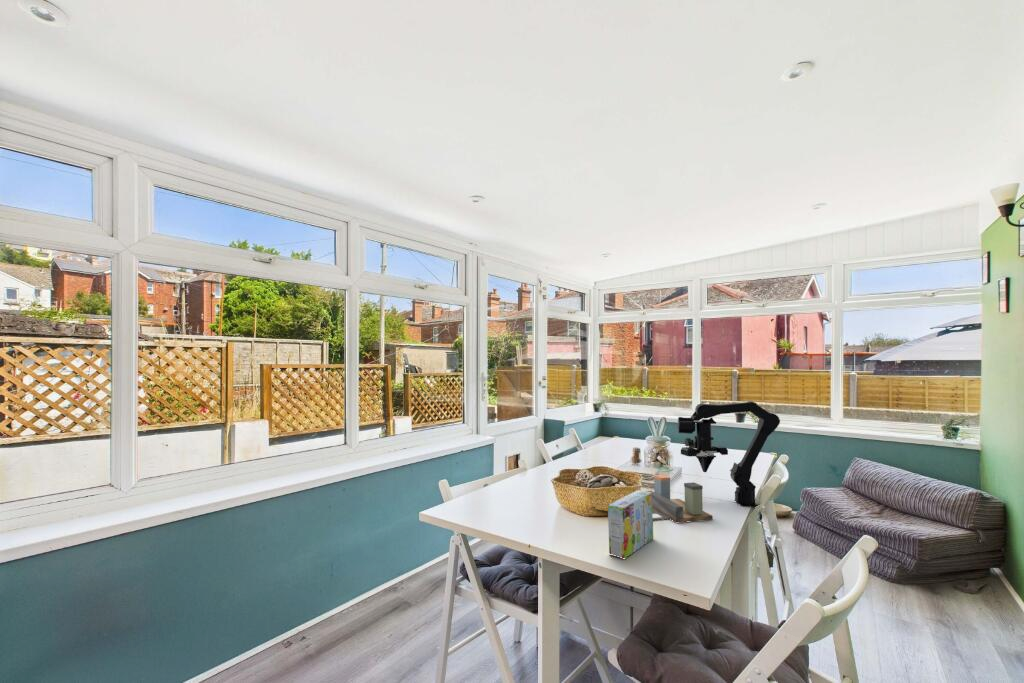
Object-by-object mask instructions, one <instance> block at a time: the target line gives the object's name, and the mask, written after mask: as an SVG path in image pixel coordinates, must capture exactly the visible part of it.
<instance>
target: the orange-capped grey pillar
mask: <svg viewBox="0 0 1024 683" xmlns="http://www.w3.org/2000/svg"><path fill="white" fill-rule="evenodd" d="M653 480H654V481H653V482H654V483H653V488H654V491H653V492H655V493H657V494H659V495H661V496H663V497H665V498H667V499H669V500H670V499H671V477H670V476H667V475H665V474H655V475H653Z"/></svg>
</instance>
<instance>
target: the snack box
mask: <svg viewBox="0 0 1024 683" xmlns="http://www.w3.org/2000/svg"><path fill="white" fill-rule="evenodd" d="M647 491H648V490H639V489H637V490H636V491H633V492H631V493H630V494H627V495H626V496H623V497H621V498H619V499H617V500H616V501H615V500H614V502H613V503H611V504H609V505H608V511H607V524H608V553H610V554H613V555H616V556H619V557H622V558H626V557H627V556H629V555H630V554H631V555H633V554H634V553H635V552H637V551H638V550H640V549H641V548H642V547H644V546H645V545H646V544H648V543H649V542H650V541H652V540H653V539H654V523H653V522H654V521H653V516H652V493H651V492H647ZM647 542H648V543H647ZM644 544H645V545H644ZM643 545H644V546H643ZM640 547H641V548H640ZM637 549H638V550H637ZM636 550H637V551H636ZM633 552H634V553H633ZM632 553H633V554H632ZM631 555H630V556H631ZM630 556H629V557H630ZM627 558H628V557H627ZM627 558H626V559H627Z"/></svg>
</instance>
